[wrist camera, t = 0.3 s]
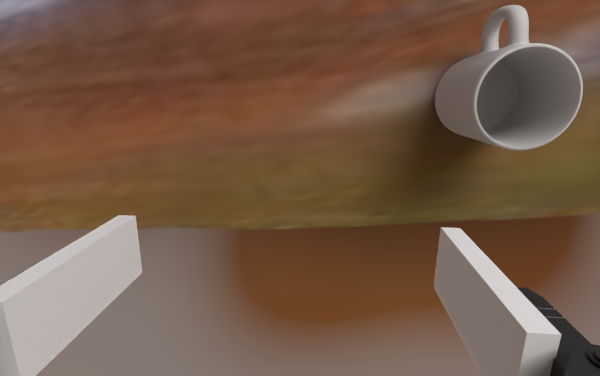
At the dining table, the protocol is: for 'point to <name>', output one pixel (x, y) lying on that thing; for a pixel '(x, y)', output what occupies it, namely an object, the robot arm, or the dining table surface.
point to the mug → (510, 88)
